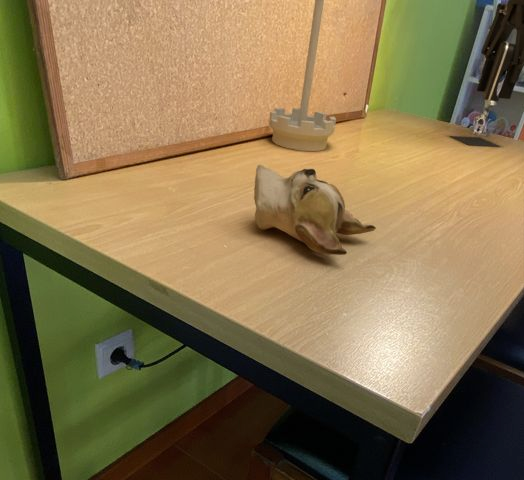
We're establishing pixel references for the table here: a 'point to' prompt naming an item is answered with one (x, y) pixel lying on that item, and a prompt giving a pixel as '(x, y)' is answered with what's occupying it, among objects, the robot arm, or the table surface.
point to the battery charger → (498, 70)
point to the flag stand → (304, 107)
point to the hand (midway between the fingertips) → (492, 94)
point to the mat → (474, 141)
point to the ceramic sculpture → (304, 209)
